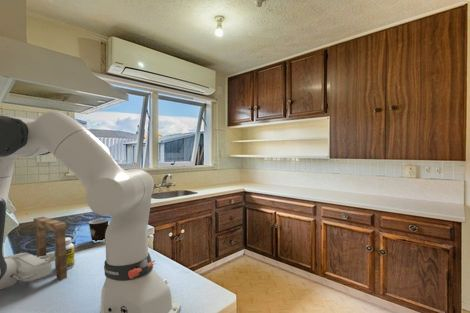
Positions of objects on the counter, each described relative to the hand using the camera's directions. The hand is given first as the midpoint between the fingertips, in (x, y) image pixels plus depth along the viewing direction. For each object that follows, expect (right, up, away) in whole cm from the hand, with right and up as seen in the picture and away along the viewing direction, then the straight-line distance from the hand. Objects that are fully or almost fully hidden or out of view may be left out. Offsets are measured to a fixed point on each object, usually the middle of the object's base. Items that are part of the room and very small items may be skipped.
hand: (53, 257), depth 94 cm
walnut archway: (0, -6, -1) cm, 6 cm away
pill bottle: (+2, -6, +4) cm, 7 cm away
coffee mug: (+1, -5, +31) cm, 31 cm away
